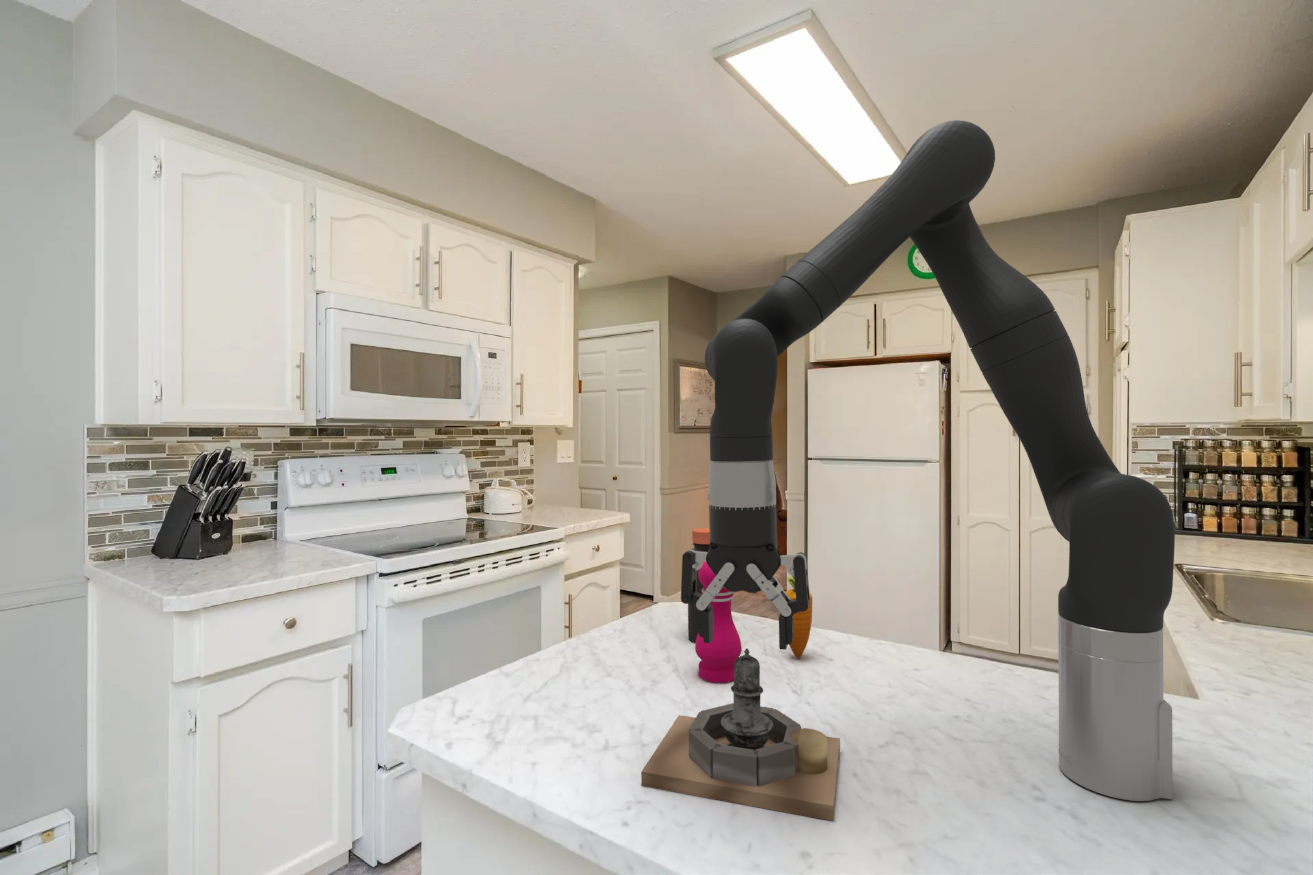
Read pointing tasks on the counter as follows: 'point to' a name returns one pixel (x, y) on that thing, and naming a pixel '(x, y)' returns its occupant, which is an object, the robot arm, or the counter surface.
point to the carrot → (800, 624)
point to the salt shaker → (746, 707)
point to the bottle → (700, 544)
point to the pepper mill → (718, 636)
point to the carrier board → (748, 765)
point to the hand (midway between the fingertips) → (745, 644)
